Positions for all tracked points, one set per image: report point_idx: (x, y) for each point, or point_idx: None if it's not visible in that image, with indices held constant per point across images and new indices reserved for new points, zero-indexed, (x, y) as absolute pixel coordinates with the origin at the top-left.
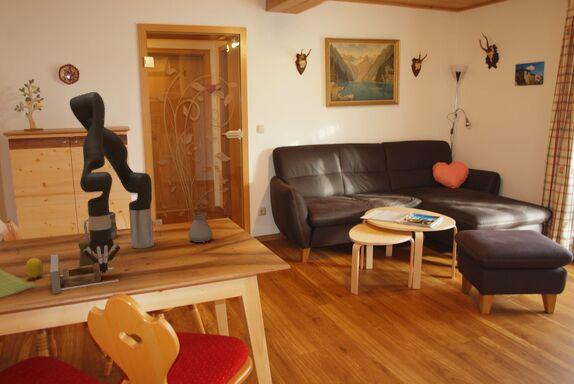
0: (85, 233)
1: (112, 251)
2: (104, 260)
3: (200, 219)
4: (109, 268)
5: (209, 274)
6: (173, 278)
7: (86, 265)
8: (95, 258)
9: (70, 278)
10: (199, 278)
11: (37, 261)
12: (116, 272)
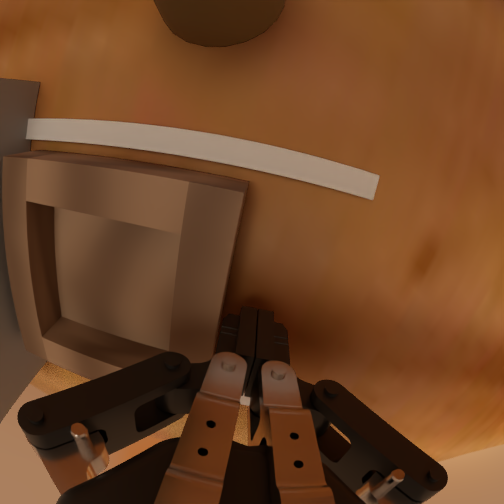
0: None
1: (364, 451)
2: (252, 420)
3: None
4: (346, 176)
5: (498, 436)
6: (443, 440)
7: (191, 32)
8: (172, 398)
9: (51, 360)
10: (468, 452)
11: None
12: (356, 267)
